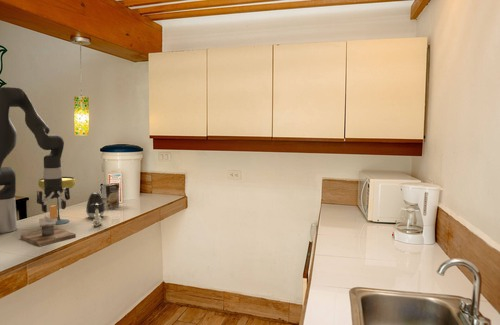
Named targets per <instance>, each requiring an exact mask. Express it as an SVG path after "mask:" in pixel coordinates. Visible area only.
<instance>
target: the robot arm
mask: <svg viewBox="0 0 500 325" xmlns="http://www.w3.org/2000/svg"><path fill="white" fill-rule="evenodd" d="M10 108H20V109H21V110H22V111H23V112H24V122H25V125H26V127H27V128H28V129H29V130H30V132H32V134H33V135H34V138H35V140H36V143H37V145H38V147H39V148H40V149H42V150H43V151H50V153H49V154H47V155H45V156H43V178H44V190H37V191H36V203H37V204H38V205H41V212H42V213H45V214H46V213H47V212H48V208H47V203H48V202H49V201H50V200H52V199H57V198H58V199H59V200H61V201H60V208H61V210H65V209H66V207H67V201H68V200H70V199H71V196H70V189H69V188H68V187H64V188H62V177H63V172H62V164H61V163H62V161H61V159H62V155H63V151H64V146H65V141H64V138H63V136H61V135H59V134H50V127H49V126H48V124H47V123H46V122H45V121H44V120H43V119H42V117H41V116H40V115H39V114H38V111H37V110H36V108H35V107H34V105H33V103H32V102H31V100H30V98H29V96H28V94H27V93H26V91H24V90H23V89H22V88H20V87H9V86H8V87H6V86H2V87H0V186H3V187H2V189H0V234H4V233H5V234H6V233H10V232H11V233H12V232H14V231H16V230H18V225H17V224H18V223H17V222H18V221H17V204H16V191H17V190H16V189H17V188H16V187H17V185H16V184H17V183H16V181H17V178H16V175H17V174H16V171H15V169H14V168H13V167H11V166H4V167H2V165H3V163H4V162H5V159H6V158H7V157H8V156H9V155H10V154H11V153H12V151H13V150H14V149H15V147H16V144H17V137H18V132H17V129H16V127H15V125H14V124H13V123H12V120H11V118H10ZM63 191H64V192H63ZM62 192H63V193H64V194H63V193H62ZM61 193H62V194H61Z"/></svg>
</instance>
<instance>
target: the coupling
mask: <svg viewBox="0 0 500 325" xmlns="http://www.w3.org/2000/svg"><path fill="white" fill-rule="evenodd" d="M48 207H49V210H48V211H49V215H44V217H41V218H39V219H38V220H39V227H40V228H42V227H50V226H54V227H55V226H57V225H56V222H57V217H58V206H57V204H55V205H49V206H48Z"/></svg>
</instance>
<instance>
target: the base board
mask: <svg viewBox="0 0 500 325" xmlns="http://www.w3.org/2000/svg"><path fill="white" fill-rule="evenodd" d="M76 235H77V234H76V233H74V232H71V231H68V230H65V229H62V228H59V227H55V225H54V226H50V227H41V230H39V231H38V230H37V231H34V232H30V233H25V234H21V235H19V236H20V239H21V240H23V241H26V242H29V243H31V244H33V245H36V246H38V247H42V246H45V245H49V244H55V243H58V242H62V241H65V240H69V239H73V238H76Z"/></svg>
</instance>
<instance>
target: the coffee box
mask: <svg viewBox="0 0 500 325" xmlns="http://www.w3.org/2000/svg"><path fill="white" fill-rule="evenodd" d="M101 198H102V200H103V203H104V208H105V211H106V210H107V211H109V210H114V209H118V208H120V184H118V183H105V184H101Z"/></svg>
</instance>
